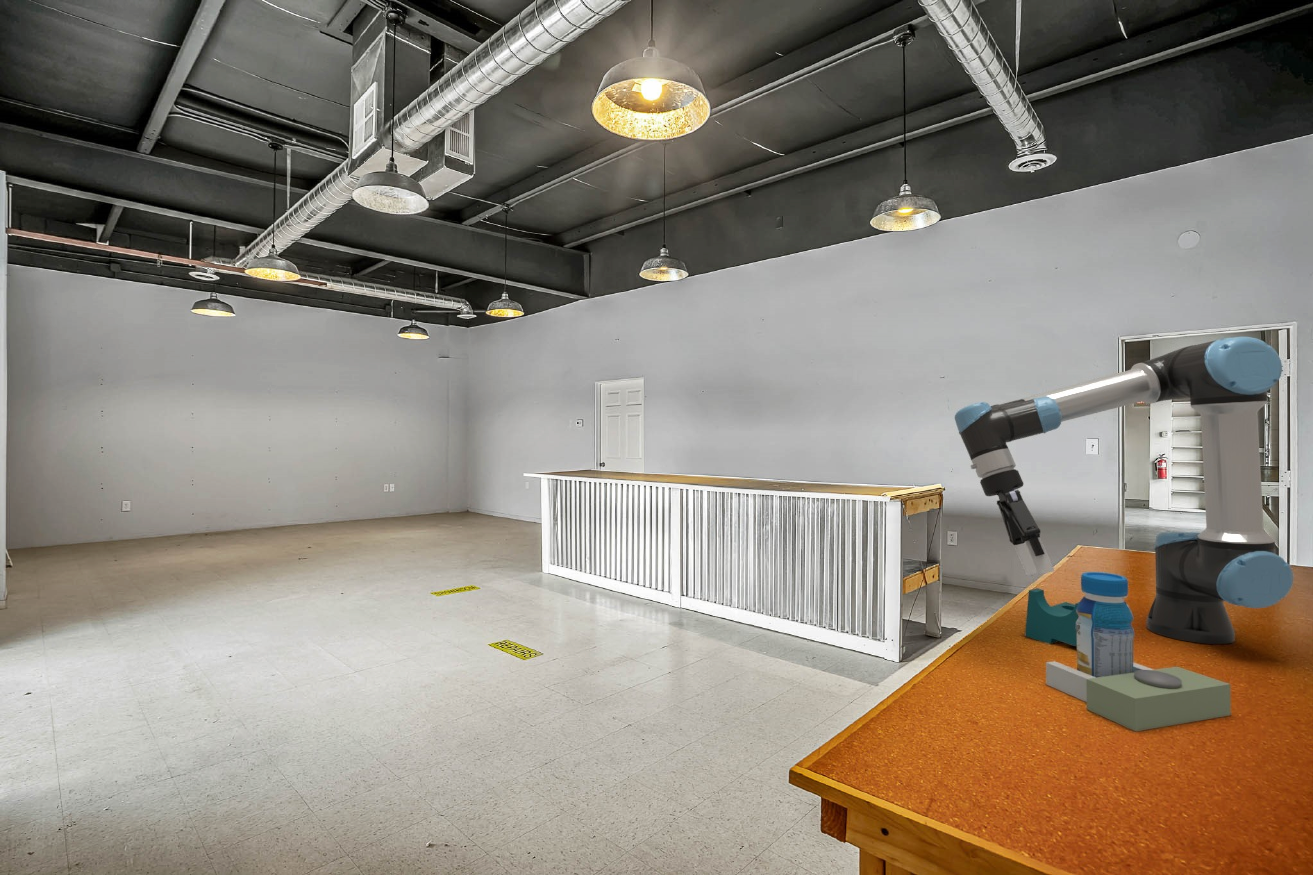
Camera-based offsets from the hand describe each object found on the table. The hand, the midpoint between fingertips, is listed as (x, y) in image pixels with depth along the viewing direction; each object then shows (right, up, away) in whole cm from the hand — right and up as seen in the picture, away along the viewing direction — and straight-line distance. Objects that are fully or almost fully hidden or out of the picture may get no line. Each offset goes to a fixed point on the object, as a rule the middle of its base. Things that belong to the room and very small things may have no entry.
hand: (1039, 573), depth 124 cm
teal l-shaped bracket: (+16, -18, +15) cm, 28 cm away
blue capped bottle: (+3, -17, -14) cm, 23 cm away
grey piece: (+3, -17, -18) cm, 26 cm away
